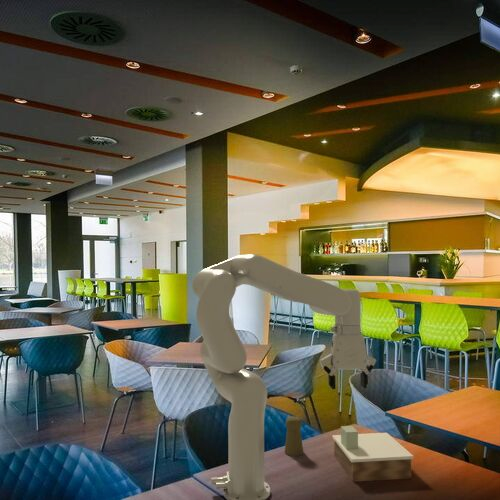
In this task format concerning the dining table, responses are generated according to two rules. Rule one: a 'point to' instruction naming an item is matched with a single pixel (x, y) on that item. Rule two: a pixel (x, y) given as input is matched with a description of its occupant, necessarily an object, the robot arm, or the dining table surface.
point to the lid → (369, 446)
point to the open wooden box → (373, 468)
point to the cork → (293, 437)
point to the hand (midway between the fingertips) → (348, 387)
